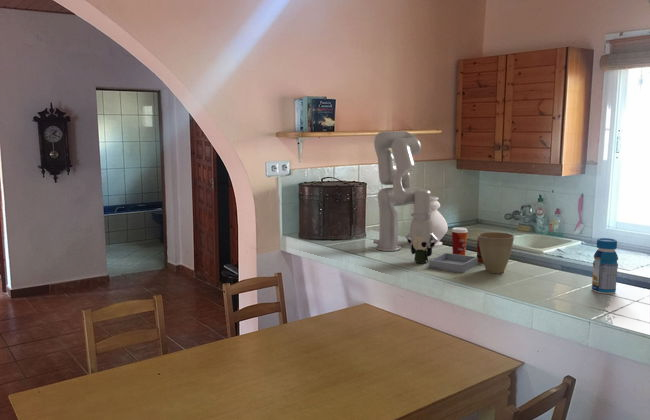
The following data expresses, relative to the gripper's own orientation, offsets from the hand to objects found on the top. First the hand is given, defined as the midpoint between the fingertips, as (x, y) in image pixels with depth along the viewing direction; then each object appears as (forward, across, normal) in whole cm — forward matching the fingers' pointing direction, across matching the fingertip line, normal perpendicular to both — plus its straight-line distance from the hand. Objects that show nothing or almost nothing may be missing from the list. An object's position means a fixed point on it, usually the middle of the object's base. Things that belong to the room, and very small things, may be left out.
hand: (421, 254), depth 256 cm
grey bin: (+4, +15, +2) cm, 16 cm away
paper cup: (+4, +10, +20) cm, 23 cm away
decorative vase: (+4, -15, +41) cm, 44 cm away
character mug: (+4, 0, 0) cm, 4 cm away
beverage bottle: (+4, +77, -2) cm, 77 cm away
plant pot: (+4, +33, +4) cm, 33 cm away
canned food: (+4, +23, +20) cm, 31 cm away
